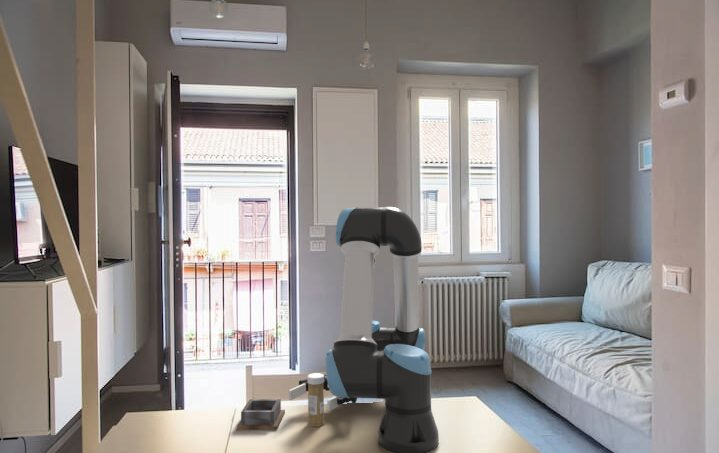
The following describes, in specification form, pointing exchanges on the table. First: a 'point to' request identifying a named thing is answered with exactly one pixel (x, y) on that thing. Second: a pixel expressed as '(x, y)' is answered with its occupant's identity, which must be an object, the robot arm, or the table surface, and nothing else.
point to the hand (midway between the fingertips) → (308, 400)
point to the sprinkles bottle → (315, 399)
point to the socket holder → (261, 415)
